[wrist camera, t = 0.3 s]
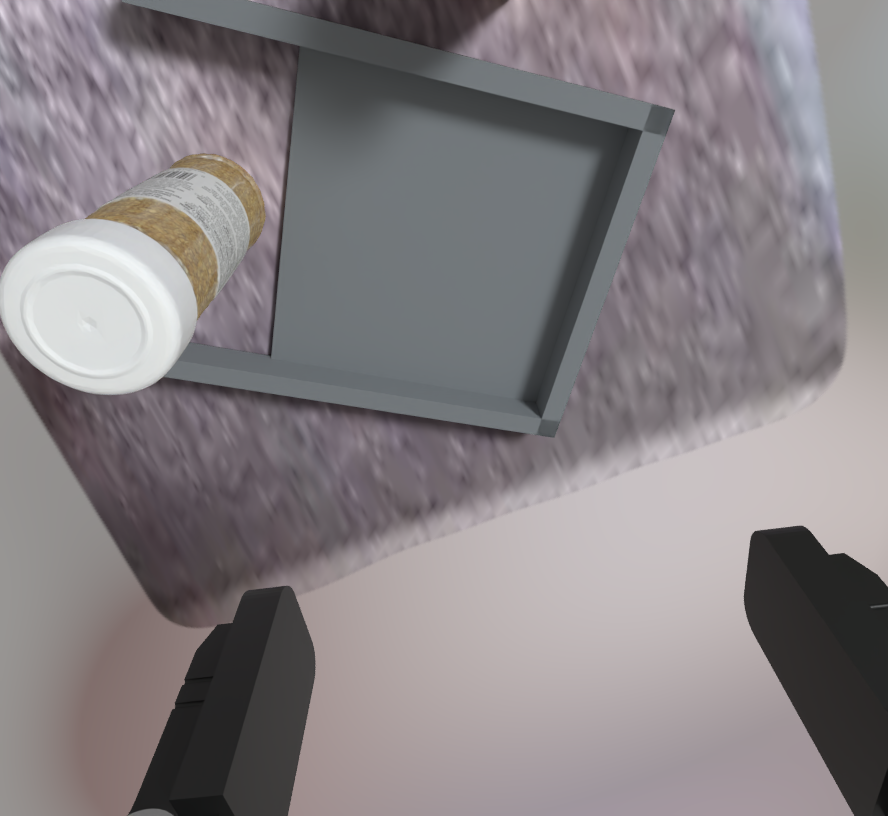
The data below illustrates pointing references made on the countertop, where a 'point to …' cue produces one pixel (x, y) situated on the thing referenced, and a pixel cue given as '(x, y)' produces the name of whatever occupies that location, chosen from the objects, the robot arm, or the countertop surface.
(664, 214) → the countertop surface
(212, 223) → the sprinkles bottle
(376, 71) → the grey open-ended tray
